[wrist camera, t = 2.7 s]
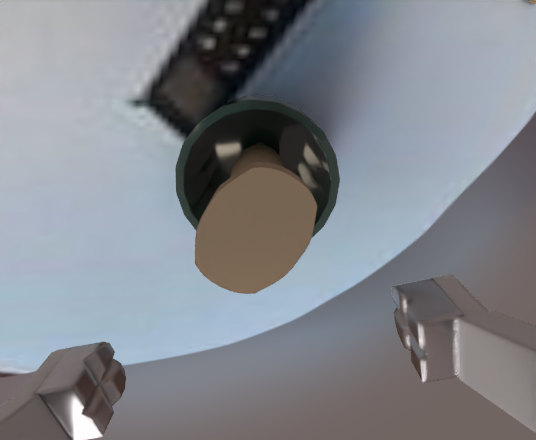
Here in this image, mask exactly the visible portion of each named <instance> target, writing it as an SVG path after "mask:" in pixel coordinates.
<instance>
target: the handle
mask: <svg viewBox="0 0 536 440" xmlns="http://www.w3.org/2000/svg"><path fill="white" fill-rule="evenodd" d="M316 211H317V204H316V202H315V199H314V197H313V195H312V193H311V191H310V189H309V188H308V186H307V185H306V183H305V182H304V181H303V180H302V179H301V178H300V177H298V176H297V175H296V174H294V173H293V172H291V171H290V170H288V169H286V168H284V166H283V163H282V161H281V159H280V157H279V155H278V154H277V152H276V151H275V150H274V149H272V148H270V147H268V146H265V145H264V143H262V142H258V143H257V144H256V145H253V146H250V147H248V148H246V149H244V150H243V151H242V153H241V154H240V155H239V157H238V158H237V160H236V162H235V164H234V166H233V168H232V171H231V176H230V178H229V179H228V180H226V181H225V182H224V183H223V184H221V185H220V186H219V188H218V189H217V190H216V192H215V194H214V195H213V197H212V199H211V201H210V202H209V204H208V206H207V208H206V209H205V211H204V213H203V215H202V217H201V219H200V222H199V224H198V227H197V232H196V238H195V264H196V266H197V267H198V269H199V270H200V271H201V273H202V274H203V275H204V276H205V277H206V278H208V279H209V280H210V281H211V282H213V283H215V284H216V285H218V286H220V287H222V288H224V289H227V290H229V291H233V292H237V293H245V294H251V293H257V292H258V291H260V290H262V289H264V288H266V287H268V286H270V285H271V284H273V283H275V282H277V281H278V280H280V279H281V278H282V277H284V276H285V275H286V274H287V273H288V272H289V271H290V270H291V269H292V268H293V267H294V265H295V264H296V262H297V261H298V260H299V258H300V257H301V256H302V254H303V253H304V252H305V250H306V248H307V247H308V245H309V243H310V240H311V237H312V234H313V228H314V223H315V217H316Z"/></svg>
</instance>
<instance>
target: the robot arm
mask: <svg viewBox="0 0 536 440" xmlns="http://www.w3.org/2000/svg"><path fill="white" fill-rule="evenodd" d="M392 299H393V301H394V303H395V304H396V306H397V308H396V310H395V311H394V318H395V323H396V327H397V331H398V334H399V337H400V339H401V341H402V343H403V345H404V347H405V348H406V349H408V350H410V351H411V360H412V363H413V365H414V366H415V368H416V370H417V372H418V374H419V376H420V378H421V380H422V382H423V383H424V382H431V381H439V380H445V379H453V378H460V380H461V381H462V382H464V383H465V384H467V385H468V386H470V387H471V388H472V389H474V390H476V391H477V392H478V393H480V394H481V395H482V396H484V397H485V398H487V399H488V400H490V401H491V402H493V403H494V404H495V405H497V406H498V407H500V408H501V409H502V410H504V411H505V412H507V413H508V414H510V415H511V416H512V417H514V418H515V419H517V420H518V421H520V422H521V423H523V424H524V425H525V426H527V427H529V428H530V429H531V430H532V431H534V432H535V433H536V326H535V325H532V324H530V323H527V322H524V321H522V320H519V319H516V318H514V317H511V316H508V315H505V314H503V313H500V312H497V311H491V312H489V311H488V310H487V309H486V308H485V307H484V306H483V305H482V304H481V303H480V302H479V301H478V300H477V299H476V298H475V297H474V296H473V295H472V294H471V293H470V292H469V291H468V290H467V289H466V288H465V287H464V286H463V285H462V284H461V283H460V282H459V281H458V280H457V279H456V278H455V277H454V276H453V275H451V274H446V275H441V276H437V277H432V278H430V279H426V280H421V281H417V282H411V283H406V284H401V285H396V286H392ZM113 356H114V350H113V348H112V347H111V345H110V343H106V342H100V343H94V344H88V345H82V346H76V347H72V348H66V349H60V350H57V351H55V352H52V353H51V354H50V355H49V356H48V358H47V359H46V360H45V361H44V363H43V364H42V365H41V366H40V367H39V369H38V370H37V371H36V372H35V374H34V375H33V376H32V377H31V379H30V380H29V381H28V382H27V384H26V385H25V386H24V387H23V389H22V390H21V391H20V392H19V394H18V395H17V396H16V397H15V398H14V399H10V400H8V401H6V402H5V403H4V404H2V405H1V406H0V440H87V439H92V438H97V437H102V436H103V435H104V432H105V430H106V428H107V426H108V424H109V422H110V420H111V417H112V415H113V413H114V412H113V408H112V406H113V405H114V404H115V403H116V402H117V401H118V400H119V399H120V398H121V396H122V394H123V391H124V389H125V381H126V376H125V371H124V368H123V367H122V365H121V363H119V362H118V361H116V360H115V359H113Z"/></svg>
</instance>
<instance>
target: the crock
mask: <svg viewBox="0 0 536 440" xmlns="http://www.w3.org/2000/svg"><path fill="white" fill-rule="evenodd" d="M258 142H262V143H264V145H265V146H268V147H270V148H272V149H274V150H275V151H276V152H277V154H278V155H279V157H280V159H281V161H282V163H283V166H284V168H286V169H288V170H290V171H291V172H293V173H294V174H296V175H297V176H298V177H300V178H301V179H302V180H303V181H304V182H305V183H306V185H307V186H308V188H309V189H310V191H311V193H312V195H313V197H314V199H315V202H316V204H317V211H316V217H315V223H314V228H313V234H312V237H313V236H314V235H315V234H316V233H317V232H318V231H319V230H320V229H321V228H322V227H323V226H324V225H325V223H326V221H327V220H328V218H329V216H330V214H331V212H332V210H333V208H334V206H335V204H336V199H337V193H338V188H339V182H340V181H339V180H340V178H339V172H338V165H337V159H336V155H335V153H334V151H333V149H332V147H331V145H330V143H329V141H328V139H327V137H326V135H325V134H324V132H323V131H322V130H321V129H320V128H319V127H318V126H317V125H316V124H315V123H314V122H312V121H311V120H310V119H309V118H308V117H307V116H306V115H305V114H304V113H303V112H302V111H301V110H300V109H298V108H297V107H296V106H295V105H294V104H292V103H290V102H287V101H286V100H283V99H281V98H279V97H276V96H271V95H261V94H252V95H248V96H243V97H240V98H236V99H233V100H231V101H230V102H228V103H227V104H225V105H223V106H222V107H220V108H219V109H217V110H216V111H214V112H213V113H211V114H210V115H208V116H207V117H205V118H204V119H202V120H201V121H200V122H199V123H198V124H197V125H196V127H195V128H194V129H193V131H192V132H191V133H190V134H189V136H188V137H187V138H186V140H185V141H184V143H183V145H182V149H181V152H180V155H179V158H178V161H177V164H176V192H177V196H178V199H179V201H180V204H181V207H182V210H183V212H184V215H185V216H186V218H187V219H188V220H189V222H190V223H191V224H192V226H193V227H194V228H195V230H196V231H197V227H198V224H199V222H200V219H201V217H202V215H203V213H204V211H205V209H206V208H207V206H208V204H209V202H210V201H211V199H212V197H213V195H214V194H215V192H216V190H217V189H218V188H219V186H220V185H221V184H223V183H224V182H225V181H226V180H228V179H229V178H230V176H231V171H232V168H233V166H234V164H235V162H236V160H237V158H238V157H239V155H240V154H241V153H242V151H243V150H244V149H246V148H248V147H250V146H253V145H256V144H257V143H258ZM312 237H311V238H312Z"/></svg>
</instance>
